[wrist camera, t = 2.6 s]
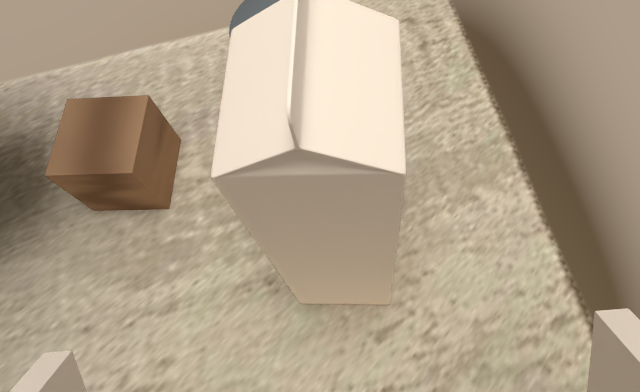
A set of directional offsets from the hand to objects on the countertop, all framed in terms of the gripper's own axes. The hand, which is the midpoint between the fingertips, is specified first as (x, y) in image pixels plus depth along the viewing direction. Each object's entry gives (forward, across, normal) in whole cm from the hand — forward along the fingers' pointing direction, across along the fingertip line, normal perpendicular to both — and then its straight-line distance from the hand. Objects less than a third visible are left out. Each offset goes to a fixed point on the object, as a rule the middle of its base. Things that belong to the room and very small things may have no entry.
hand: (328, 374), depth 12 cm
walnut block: (+25, -16, -1) cm, 30 cm away
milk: (+19, 0, -7) cm, 20 cm away
